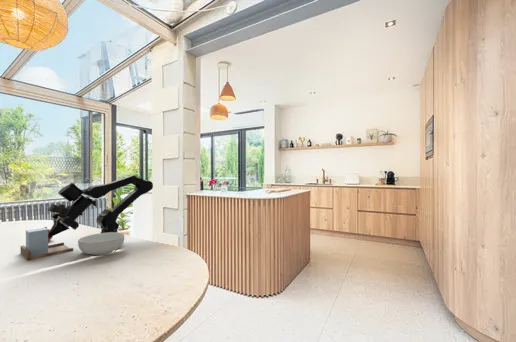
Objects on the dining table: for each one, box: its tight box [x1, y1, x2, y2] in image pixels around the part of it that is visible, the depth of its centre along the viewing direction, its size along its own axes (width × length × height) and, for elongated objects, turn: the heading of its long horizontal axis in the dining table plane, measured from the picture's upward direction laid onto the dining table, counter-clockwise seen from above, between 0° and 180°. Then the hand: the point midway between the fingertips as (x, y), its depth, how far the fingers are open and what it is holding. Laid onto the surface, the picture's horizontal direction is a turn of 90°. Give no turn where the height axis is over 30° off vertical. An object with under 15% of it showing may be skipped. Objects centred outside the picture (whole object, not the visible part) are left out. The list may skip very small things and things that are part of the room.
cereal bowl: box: [77, 231, 125, 257], centre depth 105 cm, size 17×17×7 cm
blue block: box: [25, 227, 49, 257], centre depth 100 cm, size 6×5×10 cm
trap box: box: [20, 242, 74, 261], centre depth 103 cm, size 14×13×4 cm
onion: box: [43, 226, 54, 242], centre depth 117 cm, size 6×6×8 cm
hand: (47, 237), depth 103 cm, fingers closed, pressing on blue block
